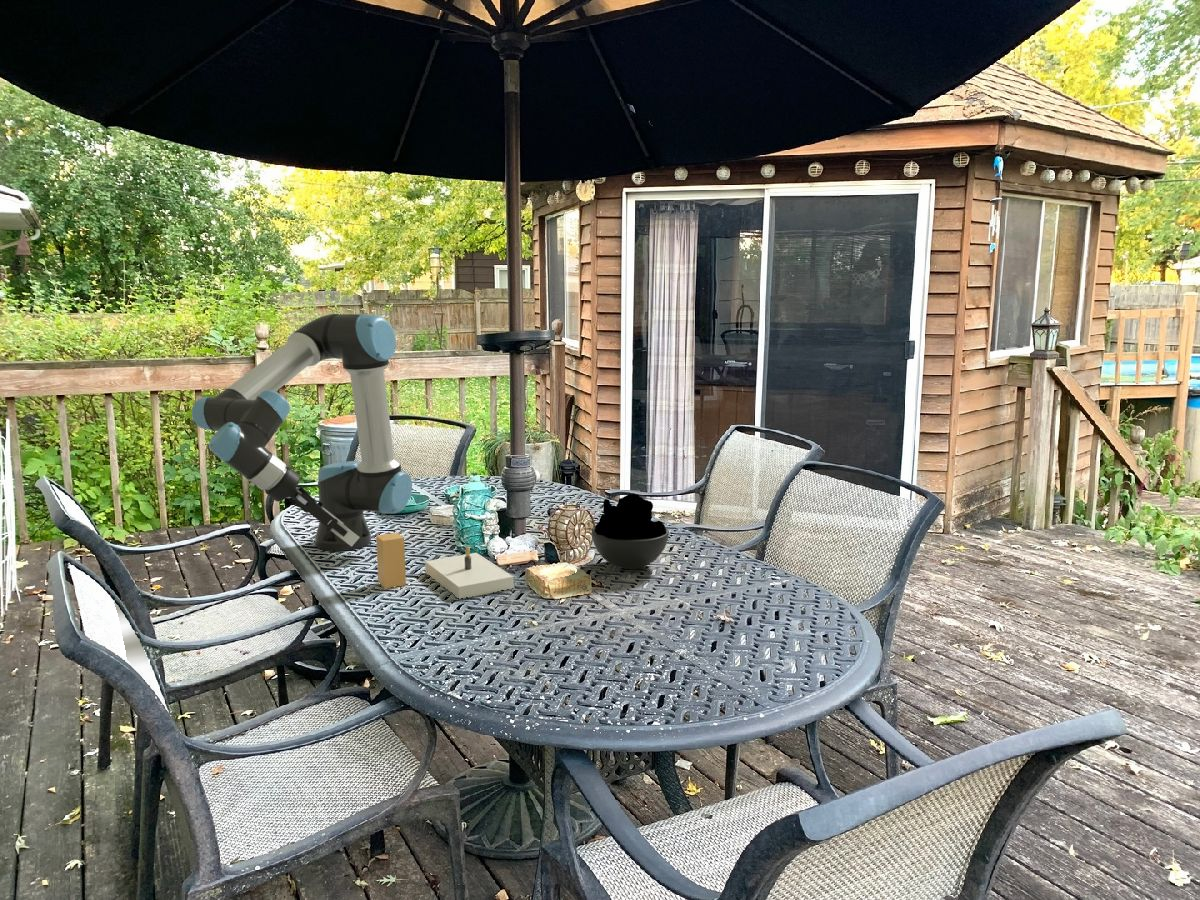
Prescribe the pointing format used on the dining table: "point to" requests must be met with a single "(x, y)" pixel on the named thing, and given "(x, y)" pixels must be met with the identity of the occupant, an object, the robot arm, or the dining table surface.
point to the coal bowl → (629, 533)
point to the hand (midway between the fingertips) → (347, 534)
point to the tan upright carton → (391, 560)
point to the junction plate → (469, 575)
